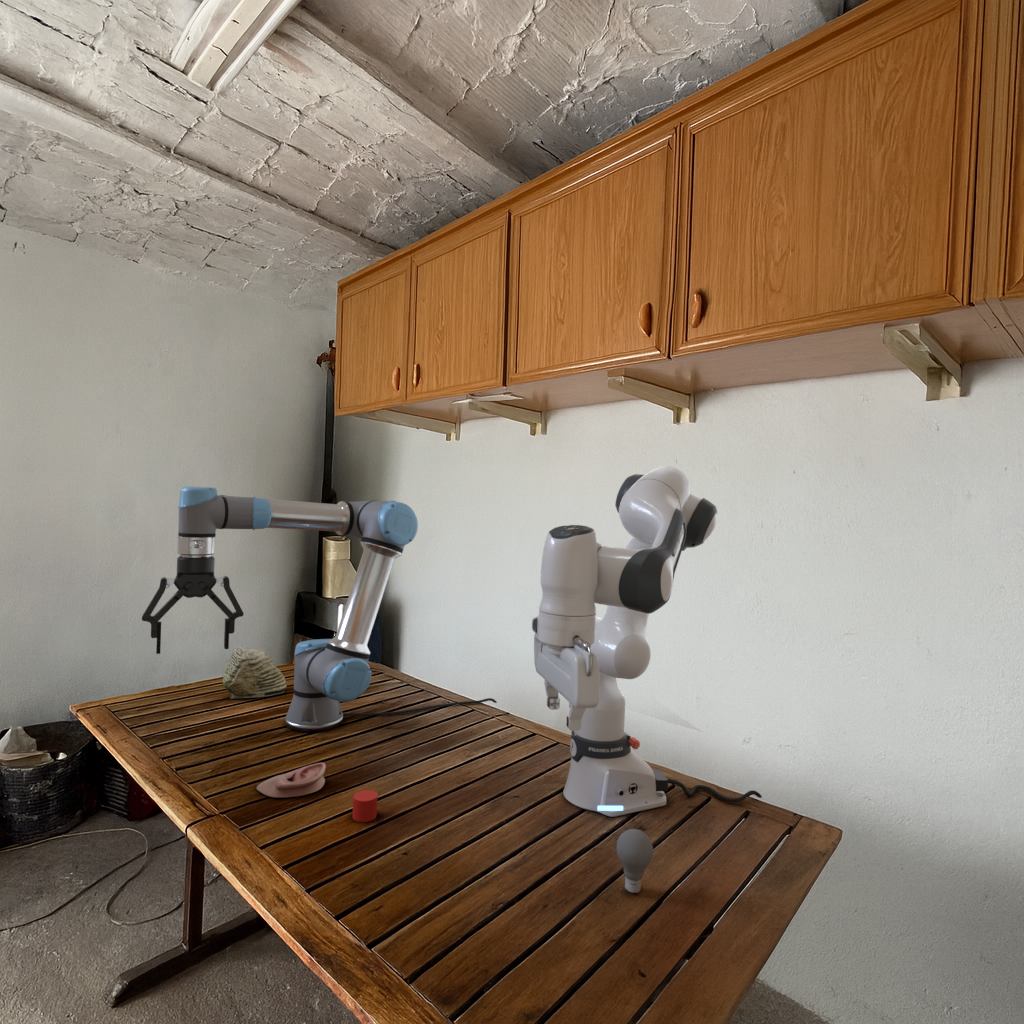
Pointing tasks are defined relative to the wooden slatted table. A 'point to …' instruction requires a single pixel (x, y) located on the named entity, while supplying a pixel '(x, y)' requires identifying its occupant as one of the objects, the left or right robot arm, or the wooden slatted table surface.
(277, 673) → the fossil
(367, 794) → the red cylinder
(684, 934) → the wooden slatted table surface
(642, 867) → the light bulb
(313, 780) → the anatomical model
